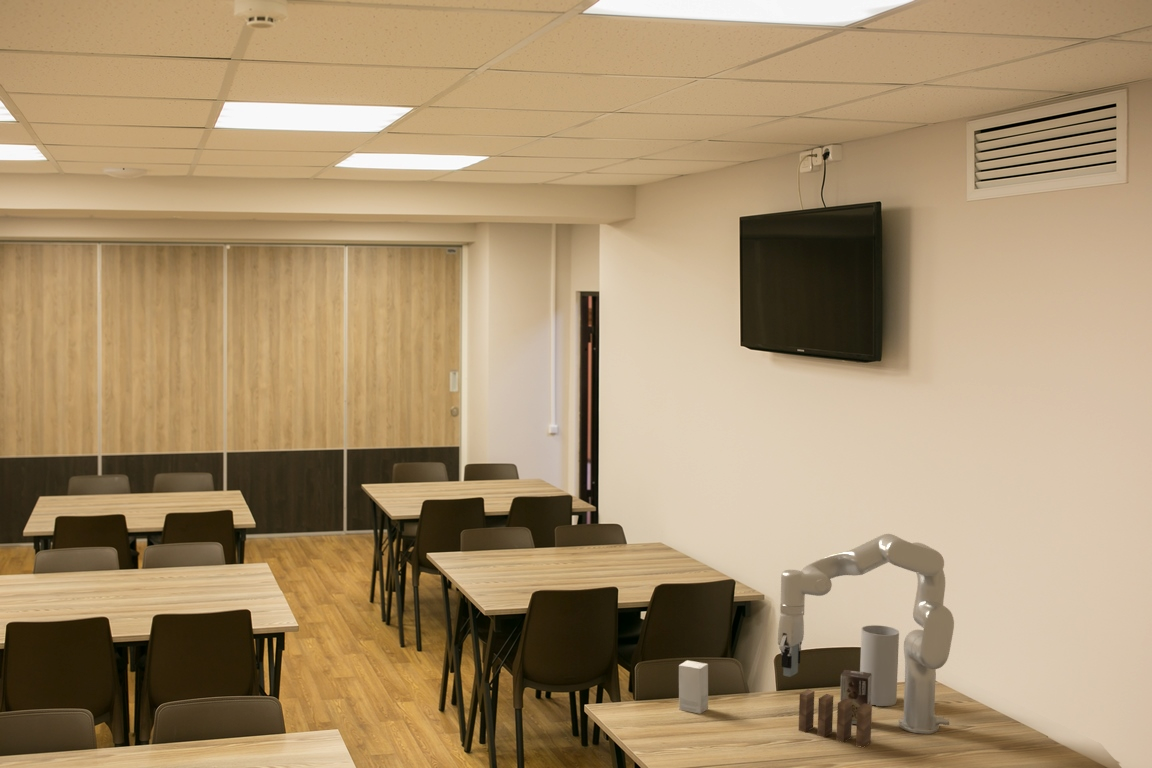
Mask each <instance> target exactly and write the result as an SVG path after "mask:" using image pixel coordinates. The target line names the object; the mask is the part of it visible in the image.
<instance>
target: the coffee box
mask: <svg viewBox="0 0 1152 768" xmlns="http://www.w3.org/2000/svg"><path fill="white" fill-rule="evenodd" d="M844 699H850V700H853V701H852V725H853V724H857V708H858V707H860V706H861V705H863V704H864V703H866V704H870V705H871V673H866V672H860V670H859V671H858V670H853V669H852V670H851V669H844V670H843V672H841V674H840V701H842V700H844ZM840 701H839V702H840Z"/></svg>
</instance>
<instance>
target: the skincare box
mask: <svg viewBox="0 0 1152 768" xmlns="http://www.w3.org/2000/svg"><path fill="white" fill-rule="evenodd" d="M708 709H709V664H708V663H705V662H698V661H694V660H688V659H687V660H685V661H684V662H682V663H680V664H679V665H678V710H679V711H685V712H690V713H695V714H697V715H698V714H699V715H700V714H702V713H704V712H705V711H707V710H708Z"/></svg>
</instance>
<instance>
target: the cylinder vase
mask: <svg viewBox="0 0 1152 768" xmlns="http://www.w3.org/2000/svg"><path fill="white" fill-rule="evenodd" d="M860 634H861V635H860V637H861V638H860V639H861V640H860V664H859V672H866V673H871V705H876V706H875V707H878V706H888V707H891V706H894V705H896V703H897V697H898V696H897V694H898V693H897V692H898V671H899V668H898V667H899V647H900V646H899V645H900V644H899V643H900V642H899V641H900V631H899V630H898V629H896V628H894V627H890V626H887V625H879V624H878V625H877V624H876V625H874V624H871V625H864V626H862V627H861V633H860Z"/></svg>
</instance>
